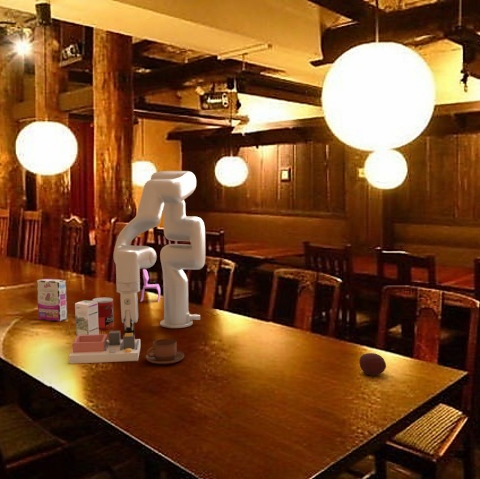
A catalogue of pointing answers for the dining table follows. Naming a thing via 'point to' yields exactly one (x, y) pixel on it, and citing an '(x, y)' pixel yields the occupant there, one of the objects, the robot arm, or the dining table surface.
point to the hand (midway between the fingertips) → (129, 341)
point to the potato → (372, 364)
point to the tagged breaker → (129, 340)
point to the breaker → (114, 338)
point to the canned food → (105, 313)
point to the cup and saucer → (164, 352)
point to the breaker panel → (101, 350)
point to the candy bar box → (52, 299)
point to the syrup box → (86, 318)
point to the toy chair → (149, 285)
